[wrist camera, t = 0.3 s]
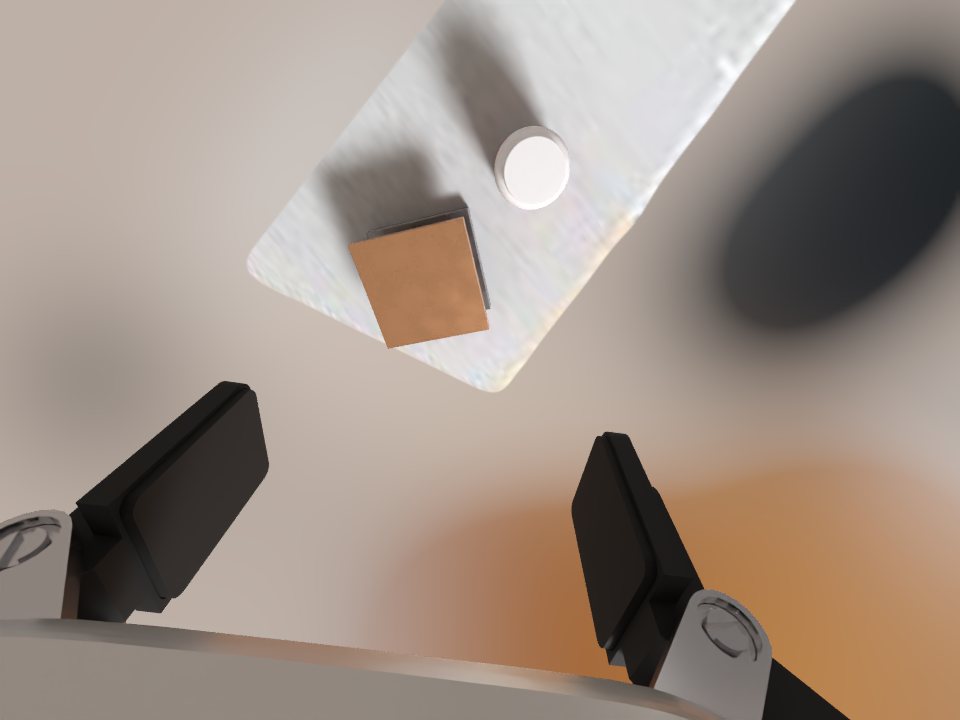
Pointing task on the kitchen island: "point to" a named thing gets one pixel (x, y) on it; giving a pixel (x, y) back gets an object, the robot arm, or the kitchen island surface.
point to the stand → (424, 278)
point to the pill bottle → (532, 167)
